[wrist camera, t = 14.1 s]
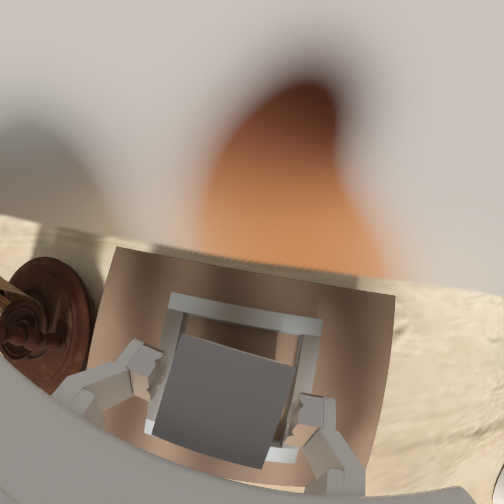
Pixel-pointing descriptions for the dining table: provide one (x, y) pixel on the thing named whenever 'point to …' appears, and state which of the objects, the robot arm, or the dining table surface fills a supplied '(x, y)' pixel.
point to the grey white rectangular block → (222, 401)
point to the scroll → (46, 322)
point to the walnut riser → (248, 349)
